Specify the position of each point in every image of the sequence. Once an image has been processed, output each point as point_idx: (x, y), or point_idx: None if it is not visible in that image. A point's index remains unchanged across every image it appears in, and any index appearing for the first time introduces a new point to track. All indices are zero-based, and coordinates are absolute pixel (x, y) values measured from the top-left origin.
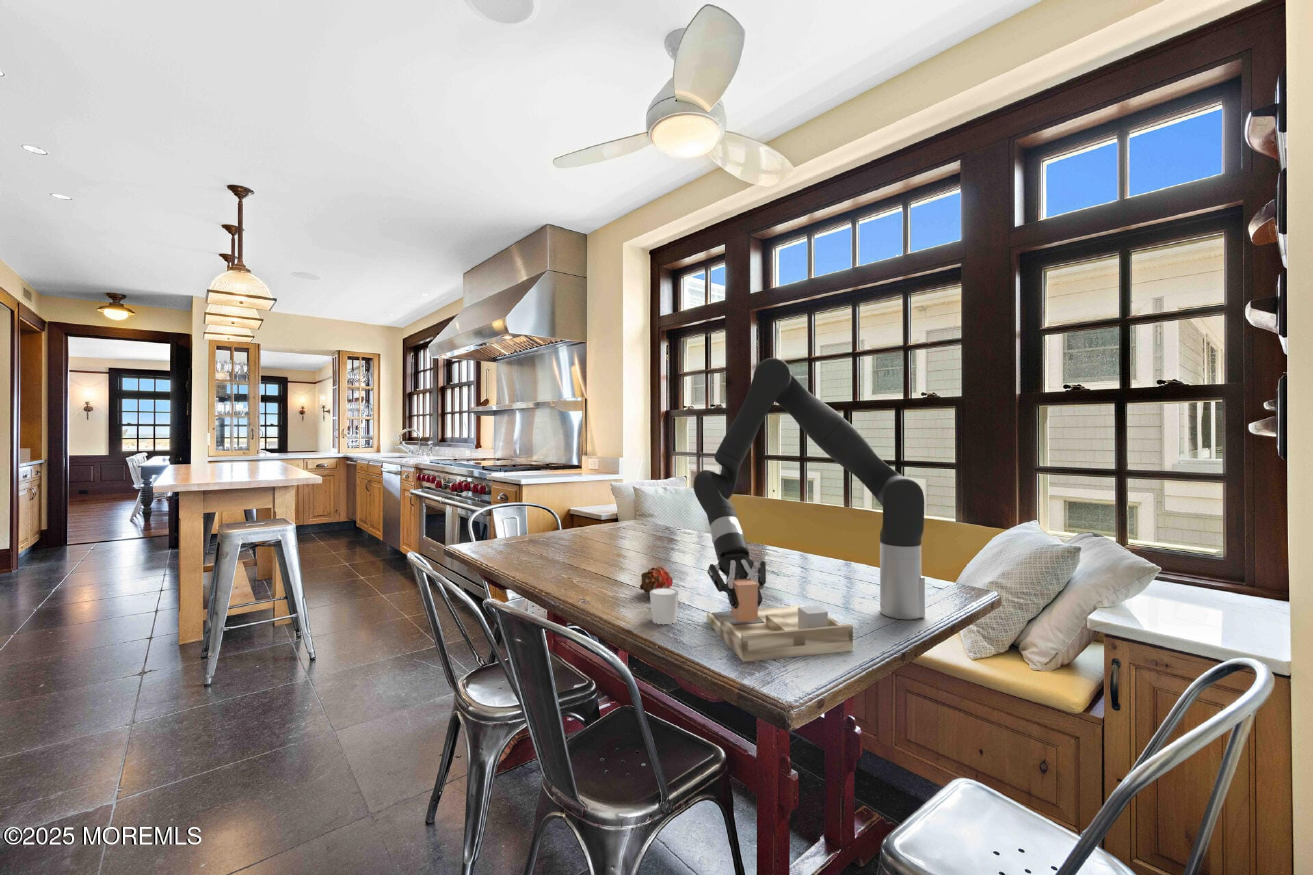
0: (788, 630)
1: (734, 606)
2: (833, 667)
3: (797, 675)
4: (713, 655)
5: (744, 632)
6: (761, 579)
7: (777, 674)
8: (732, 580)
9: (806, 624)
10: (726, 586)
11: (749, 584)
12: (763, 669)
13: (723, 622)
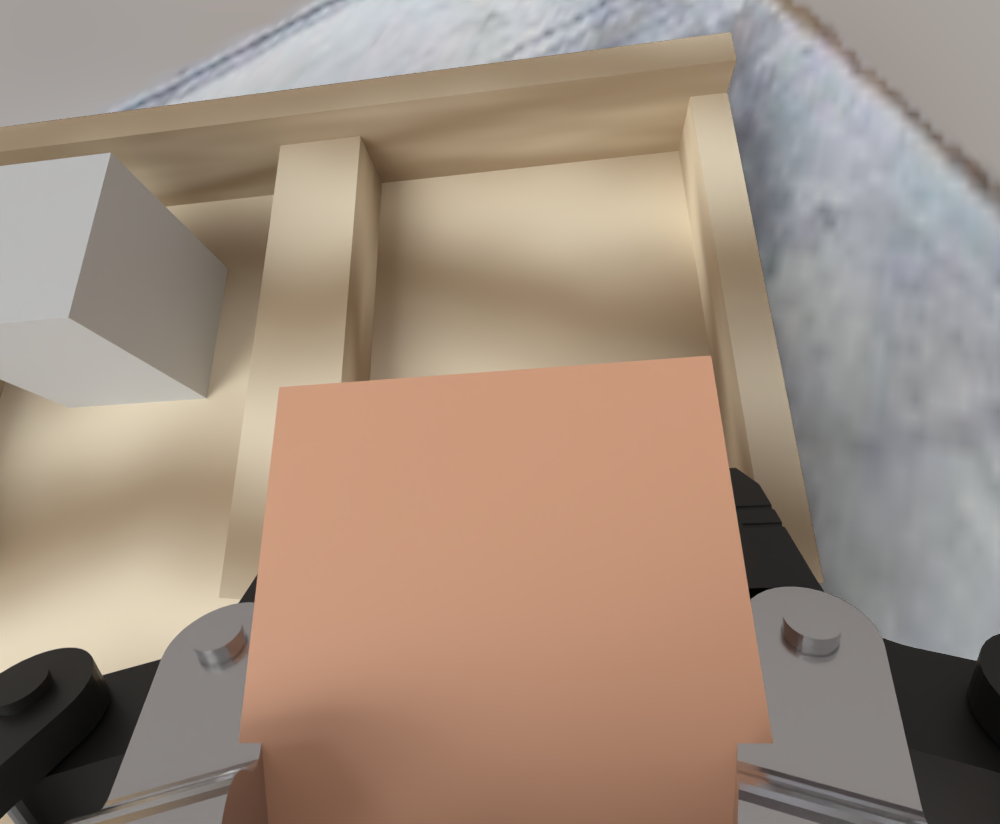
0: (370, 101)
1: None
2: (287, 84)
3: (481, 28)
4: (867, 264)
5: None
6: (10, 743)
7: (566, 39)
8: (784, 771)
9: (173, 234)
10: (910, 693)
11: (449, 384)
12: None
13: (799, 482)
